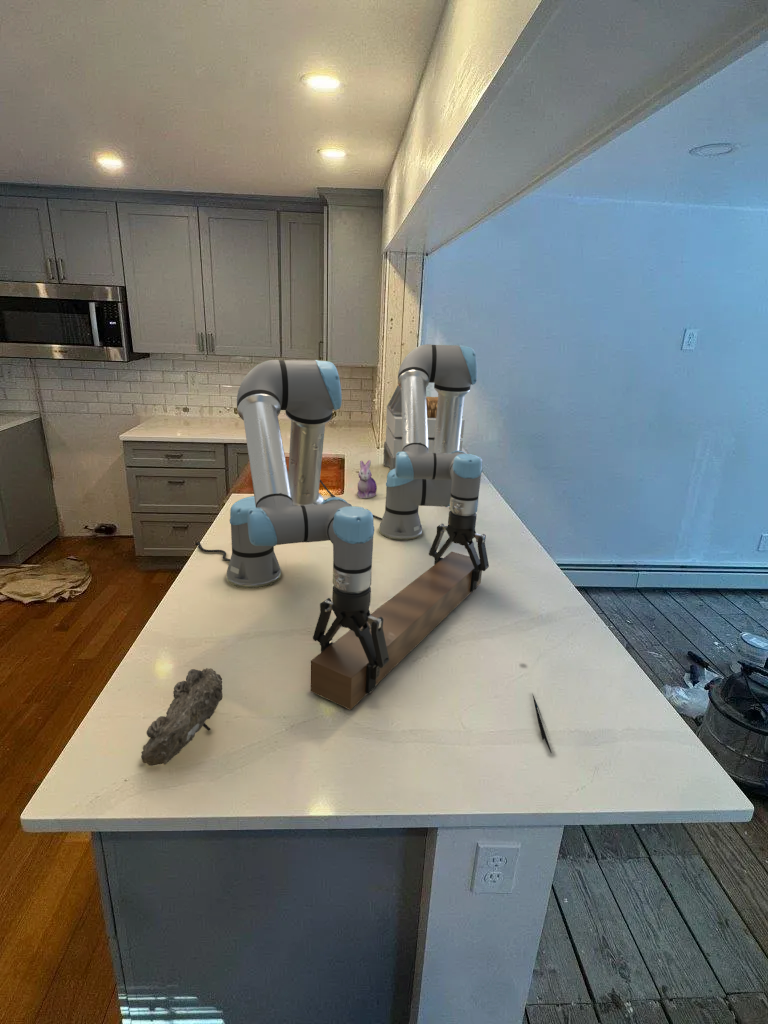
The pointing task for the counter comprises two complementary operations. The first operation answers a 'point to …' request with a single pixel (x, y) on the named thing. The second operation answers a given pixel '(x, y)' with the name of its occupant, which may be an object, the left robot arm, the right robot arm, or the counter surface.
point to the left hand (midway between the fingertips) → (349, 680)
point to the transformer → (395, 427)
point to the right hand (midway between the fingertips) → (455, 584)
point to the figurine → (366, 481)
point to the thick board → (393, 630)
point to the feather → (541, 724)
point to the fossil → (183, 716)
